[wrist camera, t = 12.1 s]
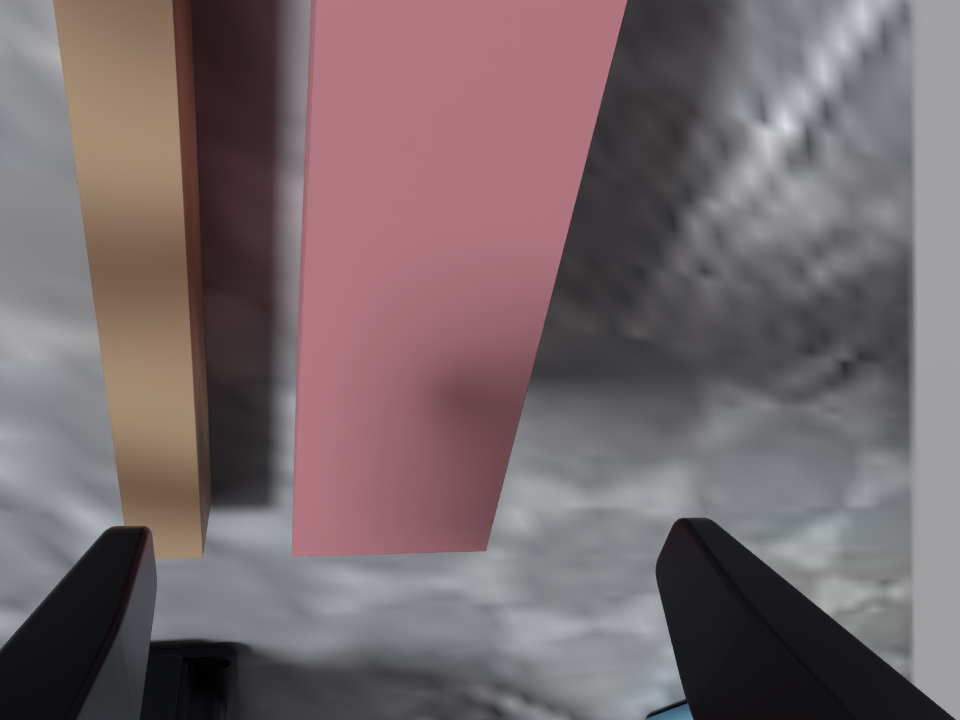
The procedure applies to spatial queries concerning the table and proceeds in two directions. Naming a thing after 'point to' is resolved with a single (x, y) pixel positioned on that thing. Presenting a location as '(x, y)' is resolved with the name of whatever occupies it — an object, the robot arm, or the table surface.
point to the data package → (674, 714)
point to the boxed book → (431, 254)
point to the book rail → (144, 251)
